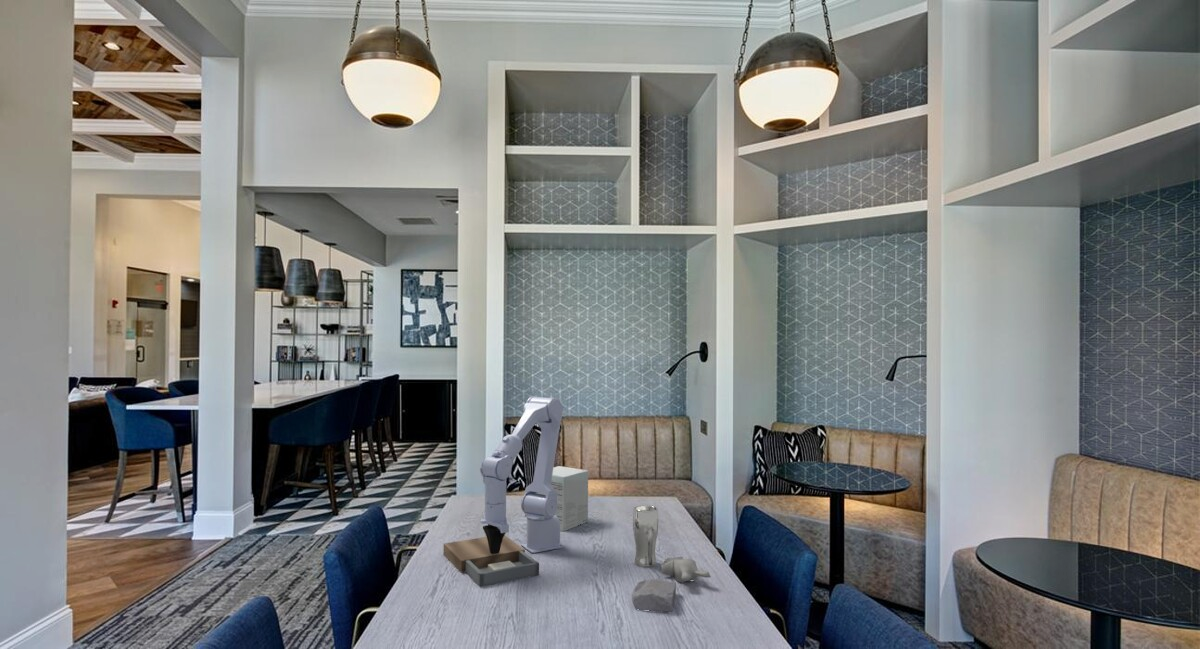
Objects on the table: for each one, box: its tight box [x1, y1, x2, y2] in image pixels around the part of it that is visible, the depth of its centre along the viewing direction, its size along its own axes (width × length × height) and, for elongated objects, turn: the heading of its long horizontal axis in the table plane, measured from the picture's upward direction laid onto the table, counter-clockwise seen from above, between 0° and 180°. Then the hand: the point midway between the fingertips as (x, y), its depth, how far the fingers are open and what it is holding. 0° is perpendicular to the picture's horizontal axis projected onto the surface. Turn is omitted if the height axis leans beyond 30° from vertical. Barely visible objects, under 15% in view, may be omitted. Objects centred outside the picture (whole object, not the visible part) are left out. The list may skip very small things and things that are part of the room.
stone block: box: [631, 578, 677, 613], centre depth 143 cm, size 12×5×10 cm
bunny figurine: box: [661, 556, 711, 583], centre depth 157 cm, size 10×5×15 cm
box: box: [464, 551, 540, 587], centre depth 159 cm, size 16×11×3 cm
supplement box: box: [536, 465, 589, 532], centre depth 205 cm, size 13×13×18 cm
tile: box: [488, 561, 515, 571], centre depth 158 cm, size 6×6×2 cm
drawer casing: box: [442, 534, 526, 573], centre depth 171 cm, size 18×16×3 cm
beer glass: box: [632, 504, 659, 568], centre depth 168 cm, size 7×7×15 cm
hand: (494, 553), depth 164 cm, fingers closed
